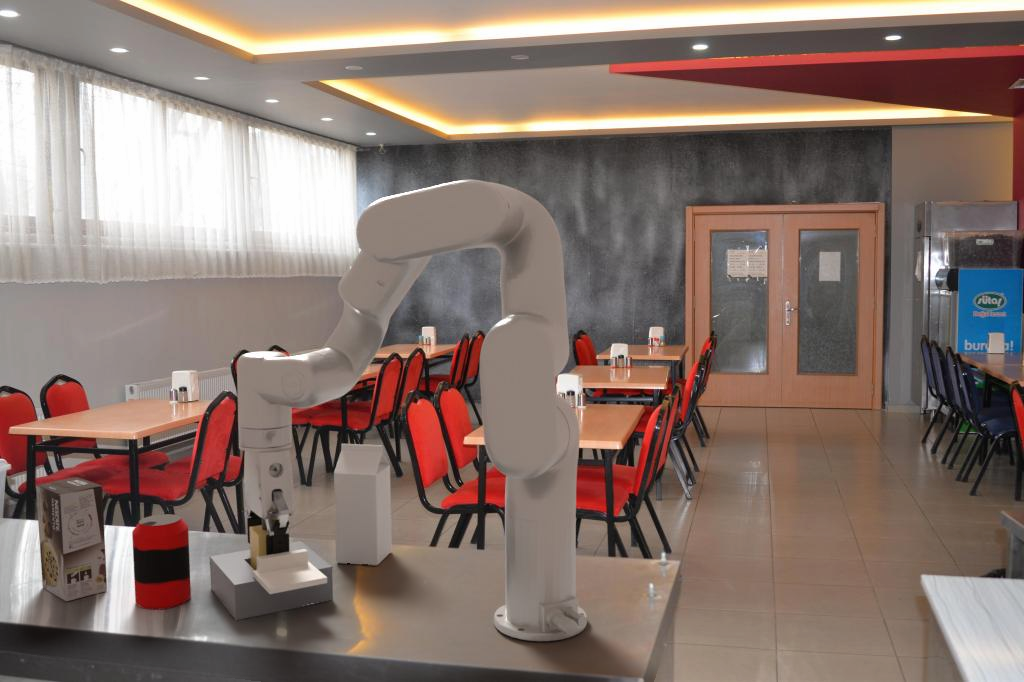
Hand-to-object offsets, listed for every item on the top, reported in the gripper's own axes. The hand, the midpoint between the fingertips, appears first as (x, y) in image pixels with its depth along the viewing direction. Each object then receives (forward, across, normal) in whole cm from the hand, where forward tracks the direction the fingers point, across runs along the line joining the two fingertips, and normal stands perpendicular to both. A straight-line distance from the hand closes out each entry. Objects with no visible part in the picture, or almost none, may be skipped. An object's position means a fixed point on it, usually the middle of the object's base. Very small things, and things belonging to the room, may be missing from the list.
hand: (268, 551), depth 138 cm
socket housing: (+6, 0, 0) cm, 6 cm away
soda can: (+7, +6, +14) cm, 16 cm away
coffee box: (+7, +17, +24) cm, 31 cm away
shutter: (+1, -10, 0) cm, 10 cm away
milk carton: (+7, +8, -18) cm, 21 cm away
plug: (+6, 0, 0) cm, 6 cm away
